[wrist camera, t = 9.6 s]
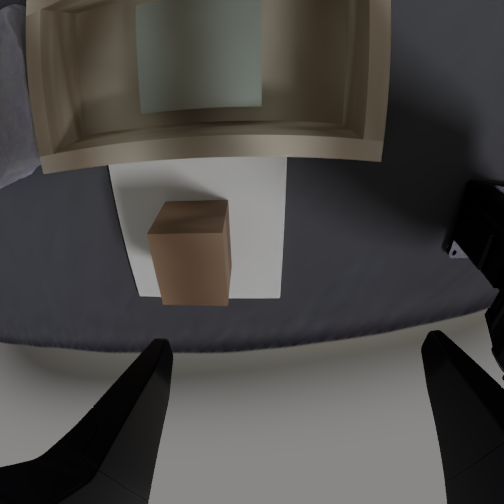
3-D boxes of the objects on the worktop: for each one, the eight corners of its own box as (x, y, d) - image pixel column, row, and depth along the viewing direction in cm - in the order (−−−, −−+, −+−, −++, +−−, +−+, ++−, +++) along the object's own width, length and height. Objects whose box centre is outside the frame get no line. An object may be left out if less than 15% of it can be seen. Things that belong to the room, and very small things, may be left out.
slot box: (358, -18, 11) (388, -38, 7) (353, 138, 17) (381, 161, 13) (69, 6, 11) (26, 0, 8) (81, 149, 17) (43, 174, 13)
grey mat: (286, 151, 17) (286, 153, 17) (279, 295, 24) (279, 298, 23) (109, 160, 18) (107, 161, 17) (140, 293, 24) (139, 296, 23)
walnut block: (228, 199, 19) (222, 232, 16) (231, 266, 22) (227, 306, 18) (165, 201, 19) (146, 233, 16) (175, 265, 22) (163, 304, 18)
